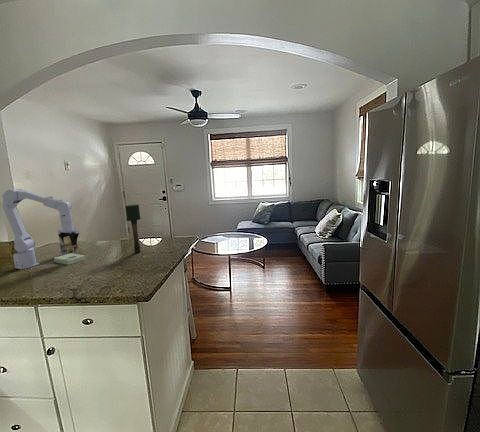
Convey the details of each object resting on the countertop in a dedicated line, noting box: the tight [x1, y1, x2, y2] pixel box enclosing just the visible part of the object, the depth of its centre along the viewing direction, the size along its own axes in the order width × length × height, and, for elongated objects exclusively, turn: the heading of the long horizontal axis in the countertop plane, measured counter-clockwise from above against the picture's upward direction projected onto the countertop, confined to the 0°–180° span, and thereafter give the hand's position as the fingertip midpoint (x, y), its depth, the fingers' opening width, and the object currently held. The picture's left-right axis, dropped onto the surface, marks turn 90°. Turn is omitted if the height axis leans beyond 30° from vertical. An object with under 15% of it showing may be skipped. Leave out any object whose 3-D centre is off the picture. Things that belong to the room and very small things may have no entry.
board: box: [53, 253, 87, 266], centre depth 166 cm, size 10×15×2 cm, turn 61°
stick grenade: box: [124, 204, 142, 254], centre depth 174 cm, size 8×9×30 cm
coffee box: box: [57, 232, 80, 256], centre depth 180 cm, size 9×6×16 cm
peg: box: [64, 236, 76, 251], centre depth 163 cm, size 6×6×8 cm
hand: (70, 245), depth 163 cm, fingers closed on peg, 6 cm apart
